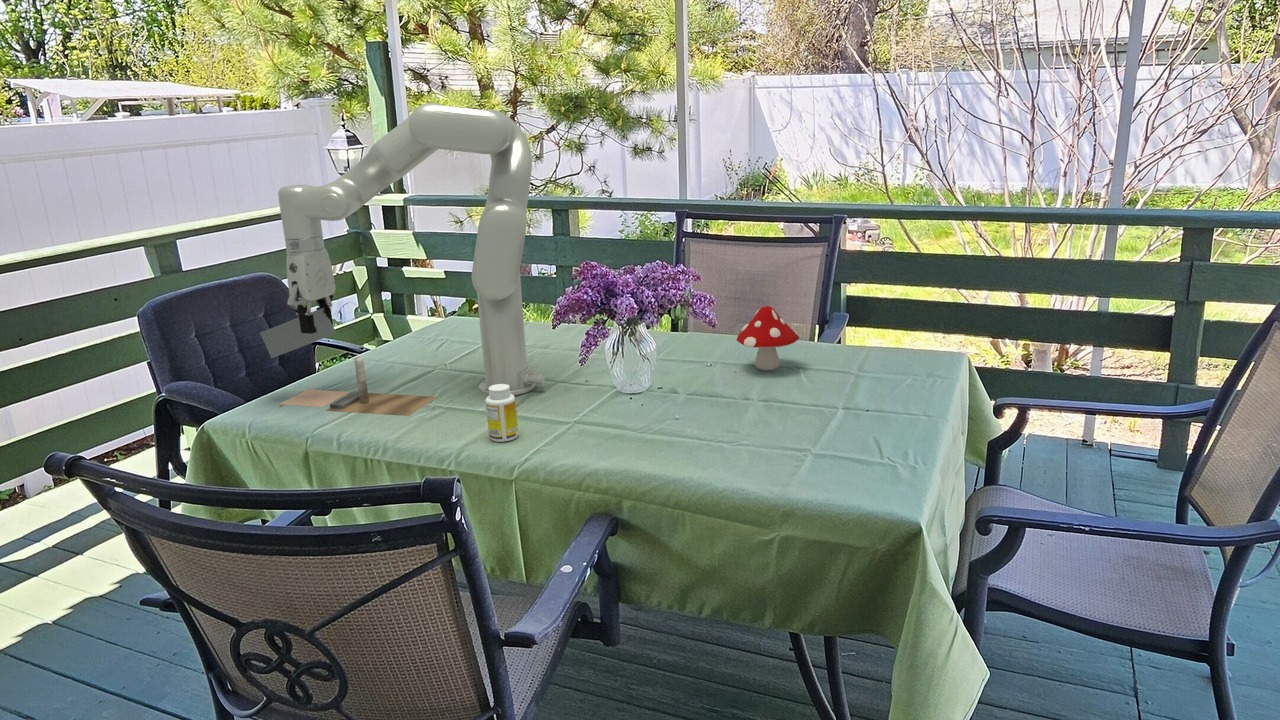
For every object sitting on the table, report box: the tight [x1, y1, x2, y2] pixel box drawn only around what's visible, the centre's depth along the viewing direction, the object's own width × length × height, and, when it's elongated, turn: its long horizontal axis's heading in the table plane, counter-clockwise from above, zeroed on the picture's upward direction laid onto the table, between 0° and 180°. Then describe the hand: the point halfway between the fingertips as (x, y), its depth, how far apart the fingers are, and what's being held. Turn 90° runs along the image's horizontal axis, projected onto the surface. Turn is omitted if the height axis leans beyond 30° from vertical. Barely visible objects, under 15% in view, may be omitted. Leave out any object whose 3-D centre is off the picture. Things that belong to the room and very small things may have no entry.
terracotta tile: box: [279, 389, 350, 408], centre depth 198 cm, size 11×10×1 cm
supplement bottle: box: [485, 384, 519, 443], centre depth 170 cm, size 6×6×10 cm
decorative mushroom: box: [736, 305, 800, 372], centre depth 203 cm, size 14×14×15 cm
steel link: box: [259, 308, 337, 359], centre depth 194 cm, size 14×5×6 cm, turn 73°
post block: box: [325, 356, 438, 417], centre depth 191 cm, size 20×12×11 cm, turn 73°
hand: (317, 328), depth 192 cm, fingers closed on steel link, 5 cm apart
